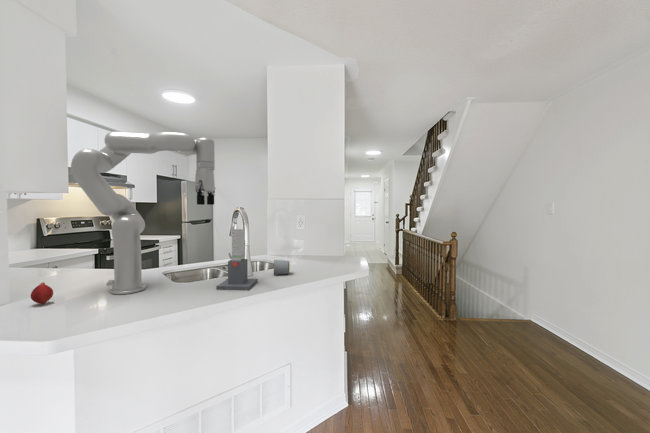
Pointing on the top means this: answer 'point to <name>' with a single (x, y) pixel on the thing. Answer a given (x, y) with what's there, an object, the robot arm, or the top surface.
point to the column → (238, 245)
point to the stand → (237, 277)
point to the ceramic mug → (281, 267)
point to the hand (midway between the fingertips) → (205, 204)
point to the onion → (42, 293)
